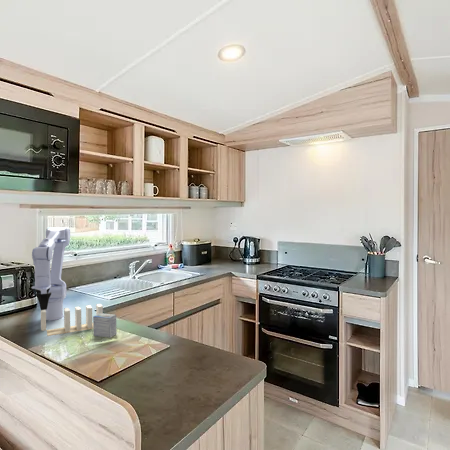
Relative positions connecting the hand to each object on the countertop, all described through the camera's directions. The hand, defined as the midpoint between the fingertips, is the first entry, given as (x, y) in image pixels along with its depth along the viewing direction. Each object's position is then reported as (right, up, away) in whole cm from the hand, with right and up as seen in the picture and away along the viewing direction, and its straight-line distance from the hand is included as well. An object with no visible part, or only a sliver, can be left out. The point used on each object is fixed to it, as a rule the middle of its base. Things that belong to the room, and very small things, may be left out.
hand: (43, 307), depth 140 cm
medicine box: (+28, -10, -7) cm, 31 cm away
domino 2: (+10, -9, -1) cm, 14 cm away
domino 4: (+18, -9, +3) cm, 20 cm away
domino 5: (+22, -9, +6) cm, 24 cm away
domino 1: (0, -10, 0) cm, 10 cm away
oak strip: (+14, -10, +1) cm, 17 cm away
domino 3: (+14, -9, +1) cm, 17 cm away
